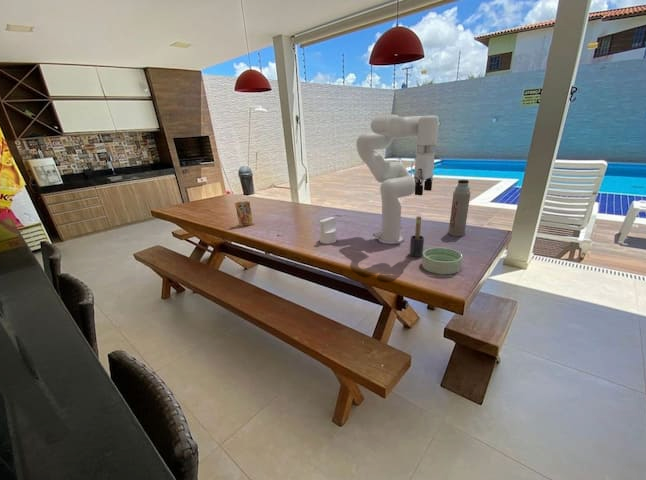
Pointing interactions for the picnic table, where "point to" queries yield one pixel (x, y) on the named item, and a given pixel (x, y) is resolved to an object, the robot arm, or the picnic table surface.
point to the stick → (418, 227)
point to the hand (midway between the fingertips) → (423, 192)
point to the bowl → (442, 260)
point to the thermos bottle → (459, 208)
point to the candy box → (244, 213)
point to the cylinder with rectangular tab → (327, 231)
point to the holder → (416, 246)
